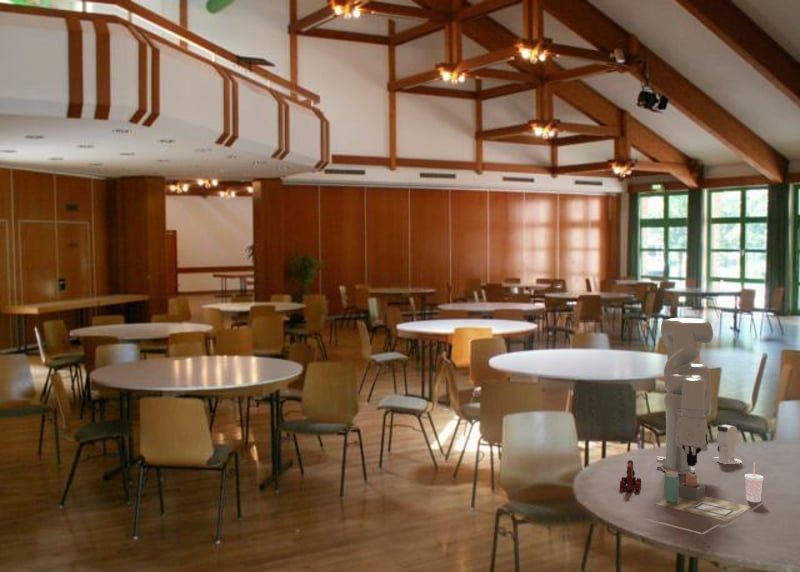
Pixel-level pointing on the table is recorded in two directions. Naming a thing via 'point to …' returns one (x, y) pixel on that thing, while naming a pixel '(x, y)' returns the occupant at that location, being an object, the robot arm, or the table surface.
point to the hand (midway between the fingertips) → (691, 465)
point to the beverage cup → (753, 486)
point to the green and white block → (671, 487)
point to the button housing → (691, 492)
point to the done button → (691, 480)
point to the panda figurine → (727, 442)
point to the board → (708, 507)
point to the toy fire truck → (630, 479)
